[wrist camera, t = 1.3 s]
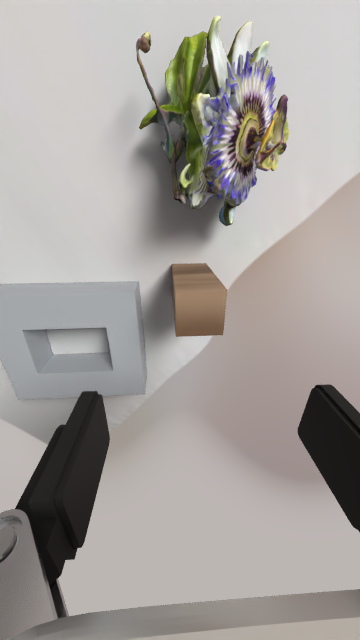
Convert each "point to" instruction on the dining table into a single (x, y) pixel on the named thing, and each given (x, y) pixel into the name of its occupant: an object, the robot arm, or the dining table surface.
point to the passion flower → (219, 117)
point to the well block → (65, 313)
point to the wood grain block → (197, 300)
